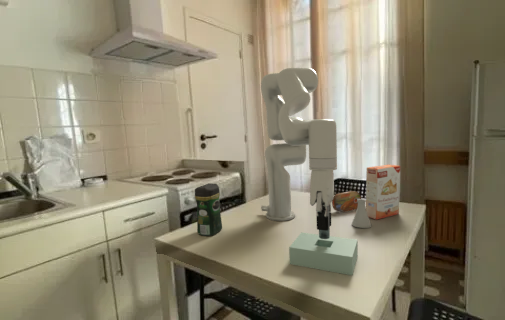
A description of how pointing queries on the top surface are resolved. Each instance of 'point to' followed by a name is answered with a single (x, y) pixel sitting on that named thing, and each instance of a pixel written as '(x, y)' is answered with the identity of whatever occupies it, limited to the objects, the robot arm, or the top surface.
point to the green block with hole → (324, 253)
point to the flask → (361, 215)
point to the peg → (323, 233)
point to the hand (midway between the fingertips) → (324, 227)
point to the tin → (346, 201)
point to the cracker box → (382, 191)
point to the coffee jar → (208, 209)
